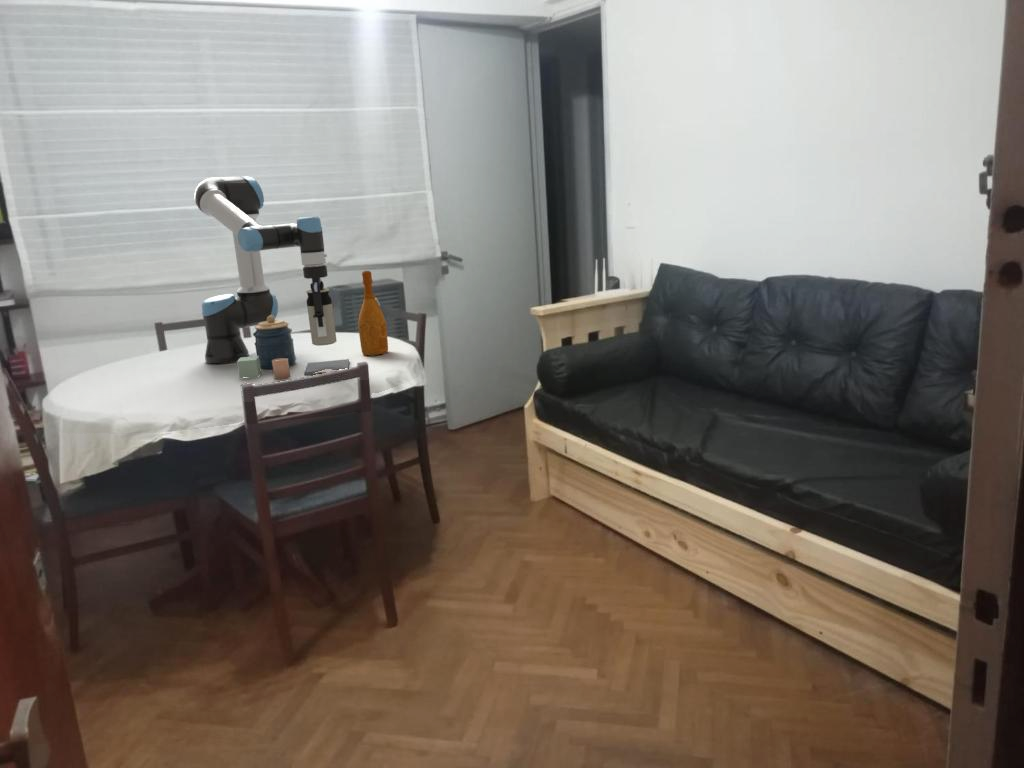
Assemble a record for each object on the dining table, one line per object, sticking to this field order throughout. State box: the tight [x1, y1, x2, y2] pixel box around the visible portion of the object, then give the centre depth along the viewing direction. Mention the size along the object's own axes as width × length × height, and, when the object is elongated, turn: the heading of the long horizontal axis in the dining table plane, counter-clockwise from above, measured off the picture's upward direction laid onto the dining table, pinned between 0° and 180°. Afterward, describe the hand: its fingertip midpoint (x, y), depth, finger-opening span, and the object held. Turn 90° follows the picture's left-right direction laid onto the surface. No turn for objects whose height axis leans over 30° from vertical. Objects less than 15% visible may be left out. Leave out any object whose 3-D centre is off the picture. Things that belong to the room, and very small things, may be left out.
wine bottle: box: [357, 270, 389, 356], centre depth 259 cm, size 10×10×30 cm
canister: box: [252, 315, 297, 370], centre depth 252 cm, size 13×13×18 cm
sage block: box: [236, 355, 262, 379], centre depth 240 cm, size 6×6×6 cm
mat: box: [303, 358, 350, 376], centre depth 244 cm, size 14×14×1 cm
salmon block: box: [272, 358, 291, 381], centre depth 235 cm, size 5×5×6 cm
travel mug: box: [305, 287, 338, 347], centre depth 240 cm, size 8×8×18 cm
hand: (323, 333), depth 241 cm, fingers closed on travel mug, 8 cm apart
